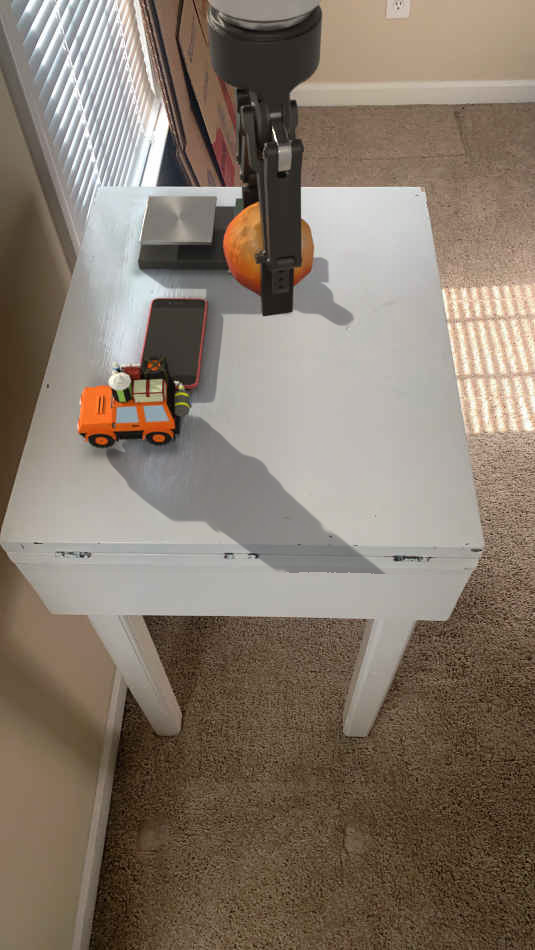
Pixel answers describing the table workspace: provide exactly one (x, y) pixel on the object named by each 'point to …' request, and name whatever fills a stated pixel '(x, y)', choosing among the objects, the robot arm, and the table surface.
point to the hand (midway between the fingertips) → (267, 278)
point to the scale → (191, 249)
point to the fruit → (258, 249)
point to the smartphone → (177, 336)
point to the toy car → (134, 405)
